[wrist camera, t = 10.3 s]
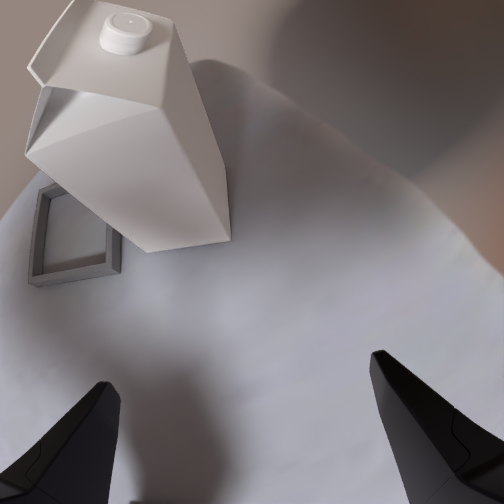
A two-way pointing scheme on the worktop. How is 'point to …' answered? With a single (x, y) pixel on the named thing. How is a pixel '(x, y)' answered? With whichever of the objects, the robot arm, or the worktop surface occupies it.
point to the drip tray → (72, 274)
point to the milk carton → (128, 127)
